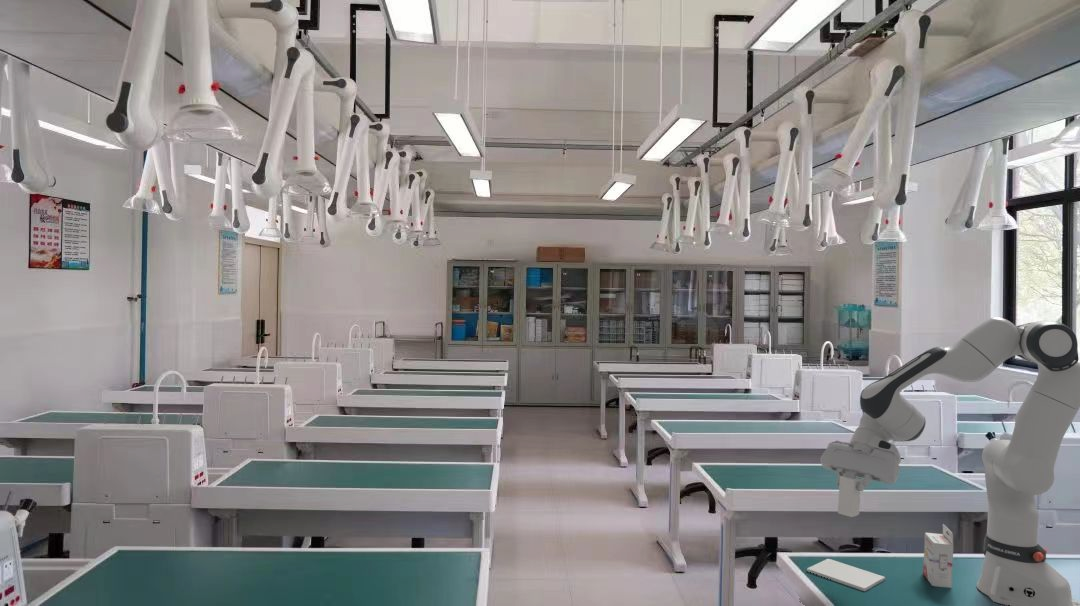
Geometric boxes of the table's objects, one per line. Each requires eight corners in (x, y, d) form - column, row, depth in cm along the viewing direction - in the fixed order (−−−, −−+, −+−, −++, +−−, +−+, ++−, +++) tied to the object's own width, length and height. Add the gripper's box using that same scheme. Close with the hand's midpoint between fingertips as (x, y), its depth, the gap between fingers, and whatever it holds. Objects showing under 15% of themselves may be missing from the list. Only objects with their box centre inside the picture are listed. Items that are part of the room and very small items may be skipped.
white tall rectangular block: (859, 514, 197) (861, 472, 197) (852, 517, 195) (854, 475, 194) (844, 510, 200) (846, 469, 200) (837, 513, 198) (840, 471, 197)
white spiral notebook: (884, 579, 196) (885, 576, 196) (864, 591, 188) (864, 588, 188) (828, 561, 208) (828, 558, 208) (806, 571, 200) (806, 568, 200)
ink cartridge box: (921, 573, 201) (924, 521, 201) (941, 575, 200) (944, 522, 200) (931, 586, 193) (934, 531, 192) (952, 588, 192) (955, 533, 191)
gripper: (827, 432, 209) (809, 471, 203) (901, 446, 194) (883, 489, 188) (834, 446, 212) (816, 485, 206) (907, 461, 197) (890, 503, 191)
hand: (848, 487), depth 197 cm, fingers closed on white tall rectangular block, 4 cm apart
